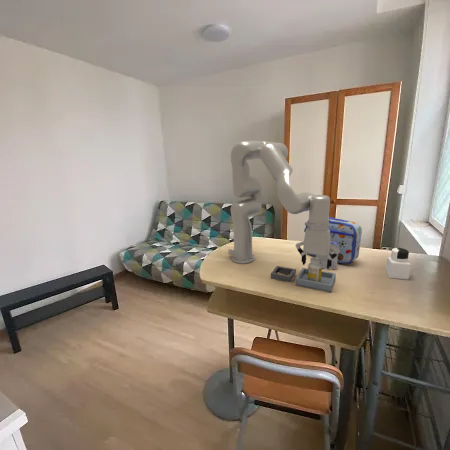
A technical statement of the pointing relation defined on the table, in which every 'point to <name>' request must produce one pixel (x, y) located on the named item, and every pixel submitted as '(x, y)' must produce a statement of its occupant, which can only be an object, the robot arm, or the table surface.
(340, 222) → the lunch box
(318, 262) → the supplement bottle
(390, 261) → the medicine bottle
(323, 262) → the ink cartridge box
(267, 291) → the table surface
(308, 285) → the tray
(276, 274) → the collar
